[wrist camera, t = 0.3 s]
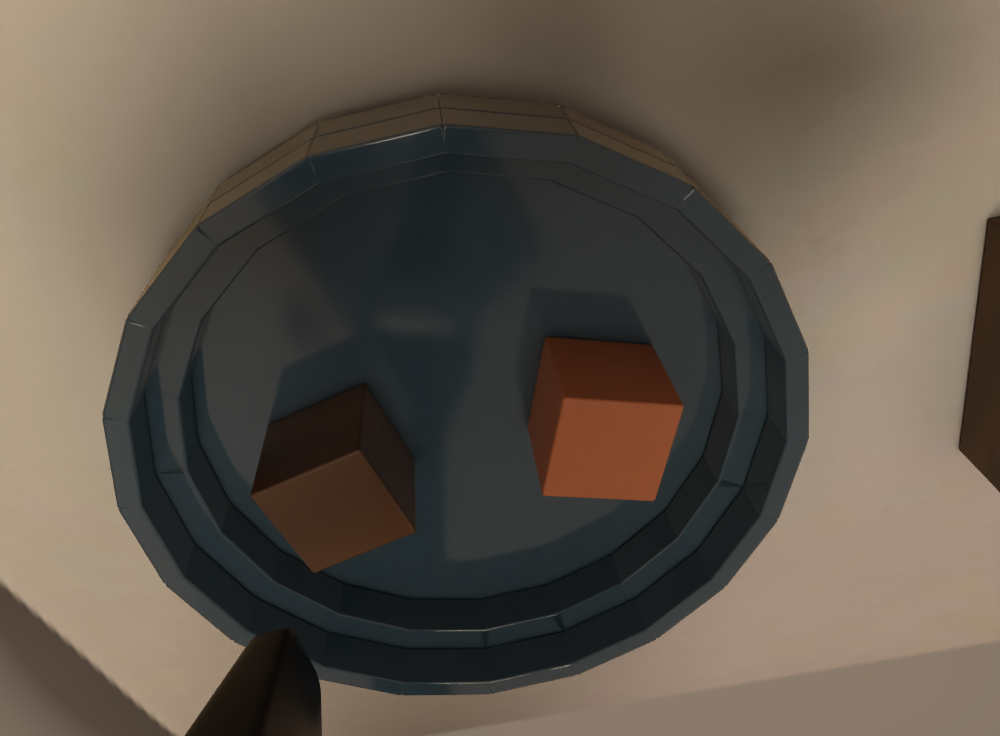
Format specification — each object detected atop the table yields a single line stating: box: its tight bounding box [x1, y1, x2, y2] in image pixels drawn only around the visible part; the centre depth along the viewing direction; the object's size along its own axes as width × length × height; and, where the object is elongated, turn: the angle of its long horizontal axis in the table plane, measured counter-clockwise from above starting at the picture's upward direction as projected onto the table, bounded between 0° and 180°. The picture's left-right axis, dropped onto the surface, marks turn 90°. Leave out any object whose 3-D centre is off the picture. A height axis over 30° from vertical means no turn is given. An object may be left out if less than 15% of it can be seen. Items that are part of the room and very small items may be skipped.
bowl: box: [102, 94, 809, 695], centre depth 22 cm, size 17×17×3 cm
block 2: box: [528, 337, 684, 501], centre depth 21 cm, size 3×3×3 cm
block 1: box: [250, 384, 416, 573], centre depth 21 cm, size 3×3×3 cm
